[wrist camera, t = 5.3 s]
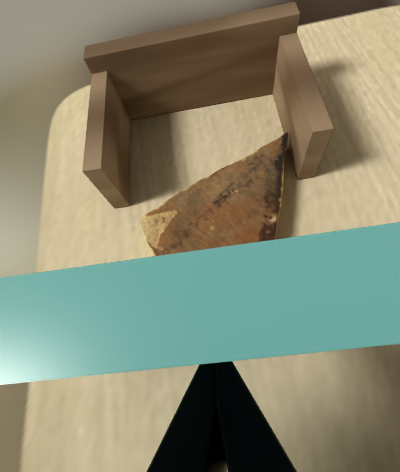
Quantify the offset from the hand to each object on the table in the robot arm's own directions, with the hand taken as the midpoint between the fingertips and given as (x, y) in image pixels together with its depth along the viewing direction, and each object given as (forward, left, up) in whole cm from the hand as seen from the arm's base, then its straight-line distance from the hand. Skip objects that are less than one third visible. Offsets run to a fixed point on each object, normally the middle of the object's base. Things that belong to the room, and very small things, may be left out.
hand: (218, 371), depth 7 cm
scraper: (+1, 0, -7) cm, 7 cm away
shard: (+8, 0, -7) cm, 11 cm away
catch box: (+14, 0, -7) cm, 16 cm away
